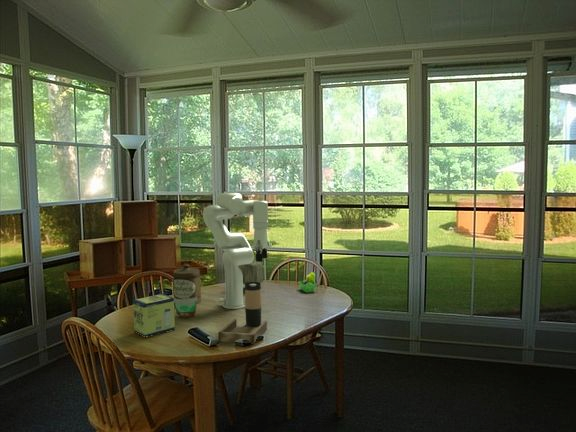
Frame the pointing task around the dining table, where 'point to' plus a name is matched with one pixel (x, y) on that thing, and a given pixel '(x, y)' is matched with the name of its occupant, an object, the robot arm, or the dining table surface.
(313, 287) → the fruit basket
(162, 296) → the protein box
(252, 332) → the tray
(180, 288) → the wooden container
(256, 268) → the tabletop clock
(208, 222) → the robot arm
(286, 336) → the dining table surface
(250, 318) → the travel mug
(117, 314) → the dining table surface
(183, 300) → the food container
